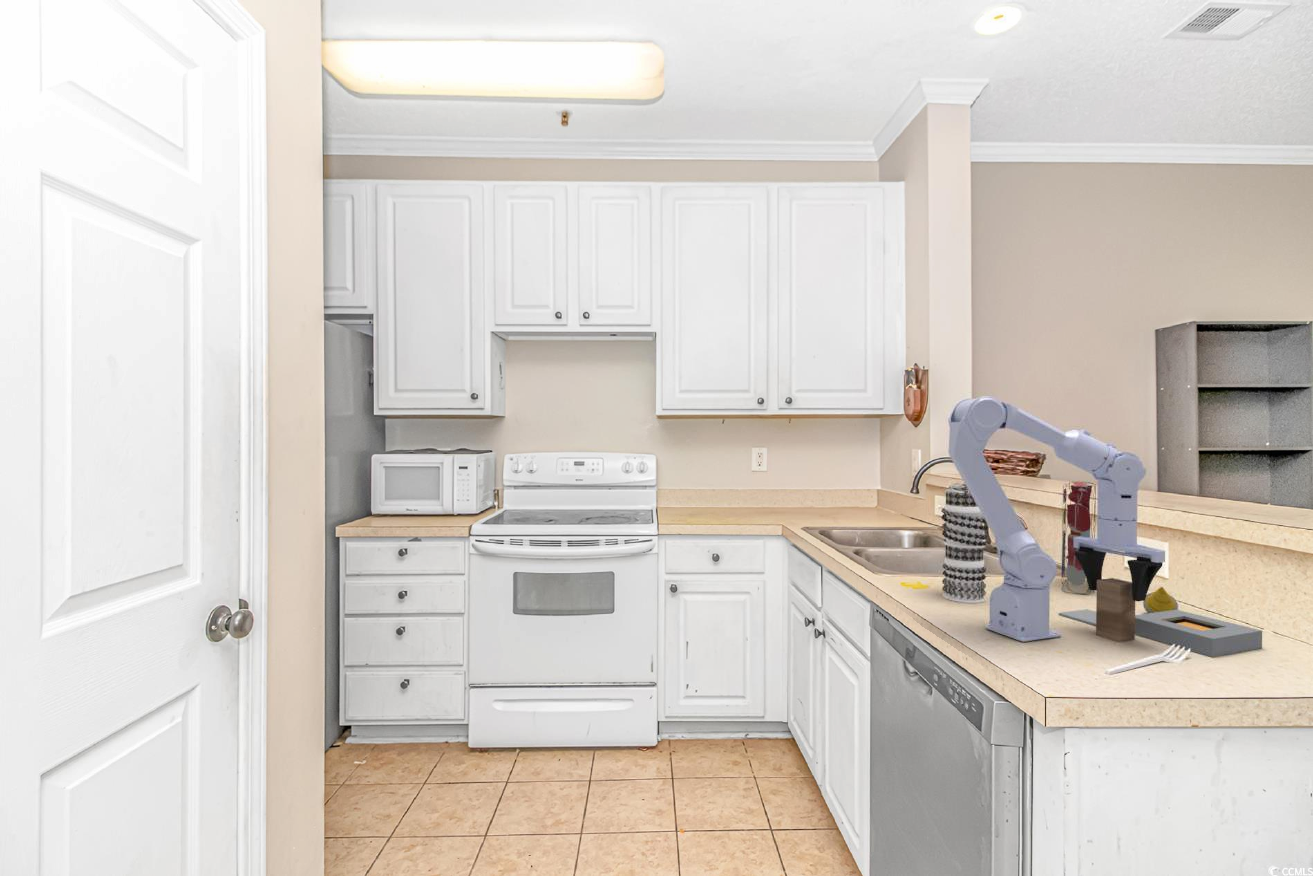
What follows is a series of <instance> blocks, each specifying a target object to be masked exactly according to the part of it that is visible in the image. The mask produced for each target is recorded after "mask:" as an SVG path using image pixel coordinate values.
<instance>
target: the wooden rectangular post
mask: <svg viewBox="0 0 1313 876" xmlns="http://www.w3.org/2000/svg"><path fill="white" fill-rule="evenodd" d="M1095 604H1096V607H1095V609H1096V610H1095V612H1096V626H1095V629H1096V630H1095V636H1098V637H1102V638H1104V639H1107V640H1110V641H1114V642H1118V643H1123V642H1129V641H1130V642H1131V641H1134V640H1136V634H1135V615H1136V601H1133V598H1132V581H1126V580H1123V579H1120V578H1119V579H1117V578H1114V577H1110V578H1102V579H1099V580H1097V590H1096V603H1095Z"/></svg>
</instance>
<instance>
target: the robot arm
mask: <svg viewBox="0 0 1313 876" xmlns="http://www.w3.org/2000/svg"><path fill="white" fill-rule="evenodd" d="M947 421H948V425H949V435H948V436H949V439H948V455H949V458H950V459H951V461H952V462H953V465H954V467H955V469H956V470H957V471H958V473H959V476H960V477H961V479H962V480H963V482H964V484H966V486H967V488H968V490H969V491H970V493H971V495H972V497H973V499H974V500H975V502H976V504H977V506H978V508H979V509H980V511H981V513H982V515H983V519H984V518H985V520H986V522H987V523H986V524H987V525H988V527H989V529H990V531H991V533H992V534H993V536H994V539H995V541H994V545H995V548H996V549H997V552H998V561H999V566H1000V568H1001V569H1002V570H1003V571H1004V572H1005V574H1004V576H1003V583H1002V584H1000V586H997V587H995V588H994V589H992V591H991V593H990V595H989V624H988V625H985V629H987V630H989V631H993V632H995V633H998V634H1000V635H1003V636H1005V637H1009V638H1010V639H1011V638H1012V639H1015V640H1017V641H1019V642H1023V643H1024V642H1030V641H1037V640H1044V639H1053V638H1057V637H1062V633H1061V632H1058V631H1055V630H1052V629H1050V607H1051V606H1050V601H1051V599H1050V598H1051V597H1050V595H1051V593H1050V592H1051V588H1050V586H1051V583H1052V582H1053V581H1054V580H1055V578H1056V576H1057V573H1058V567H1057V564H1056V563H1057V562H1055V559H1053V557H1051V556H1050V555H1049V554H1048V553H1046V552H1045V551H1044V550H1043V549H1042V548H1041V546H1040V544H1039V543H1038V542H1037V541H1036V540H1035V538H1033V536H1031V534H1030V533H1029V532H1028V531H1027V530H1026V528H1025V527H1024V524H1023V523H1022V521H1021V520H1020V517H1019V516H1018V514H1017V512H1016V510H1015V509H1014V507H1013V505H1012V504H1011V501H1010V500H1009V498H1008V497H1007V495H1006V493H1005V491H1004V490H1003V488H1002V486H1001V484H1000V483H999V481H998V479H997V477H996V475H995V473H994V471H993V470H992V468H991V467H990V465H989V463H988V461H987V459H986V458H985V456H984V453H983V452H984V451H985V448H986V447H987V444H988V441H989V439H990V438H991V437H992V436H993V435H995V433H996V432H997V431H998V430H999V429H1004V430H1005V429H1007V430H1008V429H1009V430H1013V431H1014V432H1017V433H1019V434H1021V435H1023V436H1026V437H1029V438H1031V439H1033V440H1035V441H1038V442H1040V443H1042V444H1045V445H1047V446H1049V447H1052V448H1053V451H1054V455H1055V456H1056V457H1057V458H1058V459H1059V460H1060V459H1061V461H1065V462H1066V463H1068V464H1070V465H1072V466H1074V467H1077V468H1078V469H1081V470H1083V471H1085V472H1087V473H1089V474H1091V475H1092V477H1093V478H1094V479H1095V480H1097V493H1096V495H1097V497H1096V502H1097V503H1096V504H1097V505H1096V508H1097V509H1096V511H1097V512H1096V514H1097V515H1096V538H1095V539H1094V537H1093V538H1092V537H1090V538H1086V537H1074V545H1073V547H1075V548H1079V551H1075V556H1076V558H1077V559H1078V561H1079V562H1080V564H1081V566H1082V568H1083V571H1084V573H1085V576H1086V579H1085V580H1086V581H1087V586H1088V588H1089V590H1088V591H1091V592H1092V591H1093V592H1094V591H1097V580H1099V579H1103V577H1102V576H1103V568H1104V567H1103V566H1104V563H1105V562H1104V561H1105V557H1106V556H1107V554H1113V555H1118V556H1123V557H1129V558H1134V559H1128V560H1127V565H1128V569H1129V572H1130V577H1131V582H1132V598H1133V601H1135V602H1143V601H1145V598H1146V595H1147V594H1148V593H1149V592H1148V591H1149V589H1150V585H1151V584H1152V582H1153V580H1154V578H1155V576H1156V575H1157V573H1158V572H1159V571H1160V569H1162V567H1163V563H1165V562H1166V550H1163V549H1158V548H1154V547H1149V546H1146V545H1145V546H1144V545H1141V544H1138V492H1139V484H1140V482H1141V481H1143V479H1144V478H1145V476H1146V475H1147V474H1146V472H1147V468H1146V467H1144V464H1143V462H1142V460H1140V458H1139V457H1138V456H1137V455H1136V454H1134V453H1131V452H1126V451H1118V449H1117V445H1115V444H1113V443H1104V442H1103V441H1101V440H1099V439H1096V438H1095V437H1092V436H1091V435H1092V433H1091V432H1090V431H1088V430H1087V429H1086V430H1085V429H1081V430H1078V429H1072V430H1068V431H1062V430H1061V429H1059V428H1057V427H1055V426H1054V425H1052V424H1049V423H1047V422H1045V421H1044V420H1042V419H1040V418H1038V417H1037V416H1035V415H1033V414H1031V413H1029V412H1026V411H1024V410H1023V409H1021V408H1019V407H1018V406H1015V405H1013V404H1011V403H1009V402H1005V401H1000V400H999V399H998V398H995V397H993V396H989V395H986V396H981V397H978V398H965V399H963V400H961V401H959V402H958V403H956V404H955V406H954V408H953V410H952V411H951V413H950V416H949V417H948V419H947Z"/></svg>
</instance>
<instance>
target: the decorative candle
mask: <svg viewBox="0 0 1313 876" xmlns="http://www.w3.org/2000/svg"><path fill="white" fill-rule="evenodd" d="M944 491H945V503H944V507H943V508H941V513H942V515H941V520H942V521H944V523H942V525H941V528H942V529H943V530H942V532H941V535H942V536H943V537H944V539H943V542H942V544H944V545H945V546H944V547H945V549H944V550H945V552H944V554H945V556H944V560H943V561H944V563H943V564H942V568H943V569H944V570H943V571H942V575H943V576H945V577H944V578H943V579H942V580H941V582H942V584H943V586H942V588H941V590H942V591H943V593H942V597H943V598H944V599H947V600H950V601H953V602H958V603H966V604H981V603H984V602H986V597H985V596H986V594H987V592H986V590H985V589H986V587H987V584H986V582H984V580H986V578H987V576H986V575H985V574H984V573H986V571H987V568H986V567H984V566H985V559H984V548H986V546H987V543H986V542H985V541H984V540H987V538H988V536H987V535H986V534H984V532H985V531H986V530H988V529H989V528H988V527H989V526H986V525H985V524H987V522H986V520H985V518H984V517H983V515H982V513H981V511H980V509H979V508H978V506H977V504H976V502H975V500H974V499H973V497H972V495H971V493H970V491H969V490H968V488H967V486H966V484H965V483H961V482H960V483H958V482H957V483H952V484H950V485H949V487H948V489H945V490H944Z"/></svg>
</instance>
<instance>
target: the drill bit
mask: <svg viewBox="0 0 1313 876" xmlns="http://www.w3.org/2000/svg"><path fill="white" fill-rule="evenodd" d="M1142 602H1143V604H1142V605H1143V608H1144V611H1146V613H1147V614H1148V613H1155V612H1162V611H1170V610H1179V604H1178V602H1177V600H1176V599H1175V598H1174V597H1173V596H1172V595H1170V594H1169V593H1168V592H1167V591H1166V590H1165V588H1164V586H1160V587H1159V588H1158V589H1156V590H1155V591H1153V592H1148V593H1147V595H1146V598H1145V601H1142Z"/></svg>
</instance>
